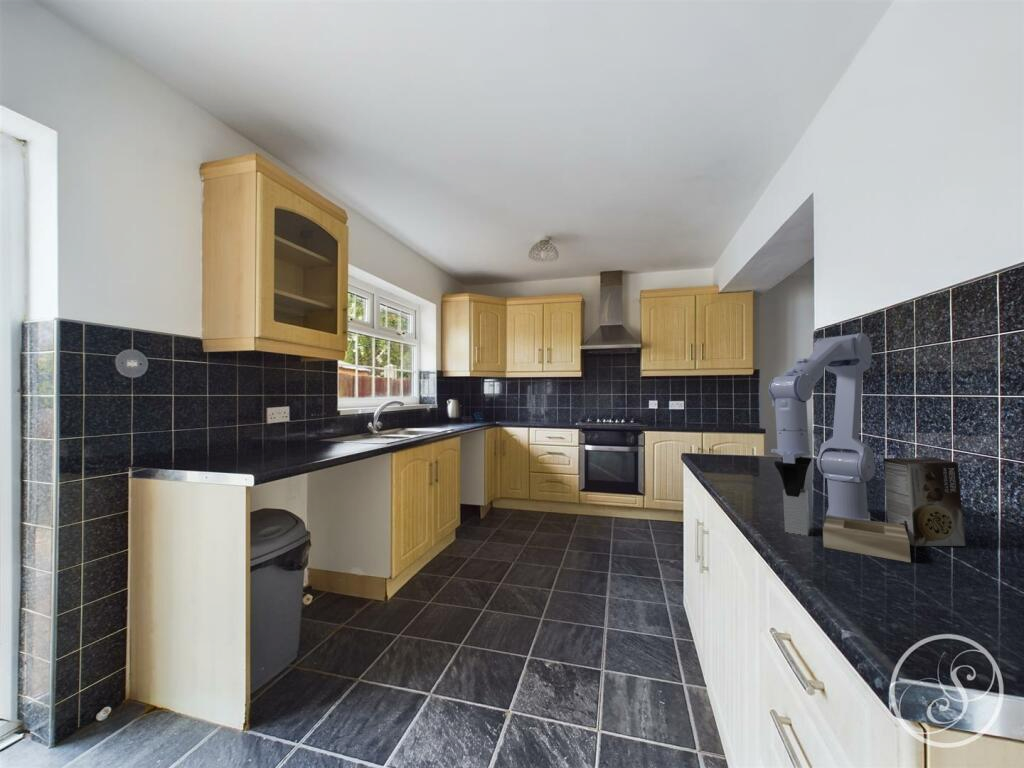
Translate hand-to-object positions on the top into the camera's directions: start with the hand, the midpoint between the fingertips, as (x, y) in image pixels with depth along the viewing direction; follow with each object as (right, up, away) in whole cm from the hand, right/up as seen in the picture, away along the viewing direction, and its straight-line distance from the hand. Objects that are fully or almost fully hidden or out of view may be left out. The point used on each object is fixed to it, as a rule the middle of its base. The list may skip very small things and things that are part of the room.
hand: (795, 492), depth 87 cm
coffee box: (+21, -8, -8) cm, 23 cm away
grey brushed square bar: (0, -8, 0) cm, 8 cm away
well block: (+7, -8, -9) cm, 14 cm away
